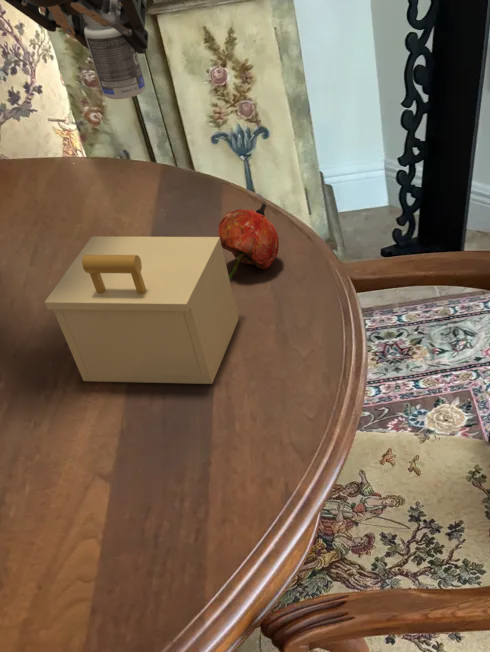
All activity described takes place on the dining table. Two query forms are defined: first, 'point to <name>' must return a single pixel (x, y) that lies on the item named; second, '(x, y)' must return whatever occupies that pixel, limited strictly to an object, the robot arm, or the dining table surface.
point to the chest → (156, 337)
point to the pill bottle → (113, 60)
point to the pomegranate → (249, 237)
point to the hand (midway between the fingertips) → (119, 44)
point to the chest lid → (135, 274)
